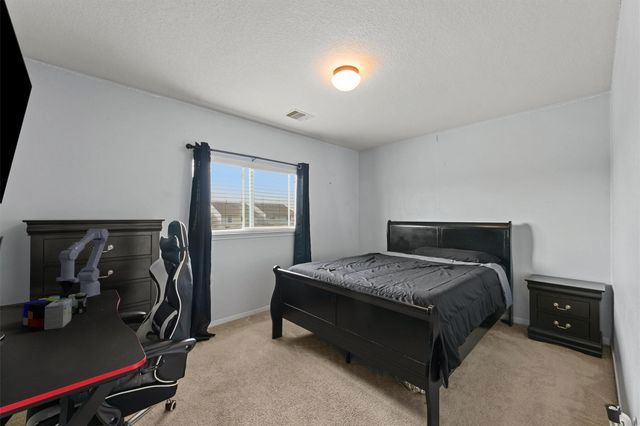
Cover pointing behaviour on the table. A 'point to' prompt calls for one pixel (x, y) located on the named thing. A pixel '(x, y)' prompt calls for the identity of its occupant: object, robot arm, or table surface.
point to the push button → (80, 303)
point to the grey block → (71, 297)
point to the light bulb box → (57, 314)
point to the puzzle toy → (36, 312)
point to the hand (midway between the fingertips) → (67, 293)
